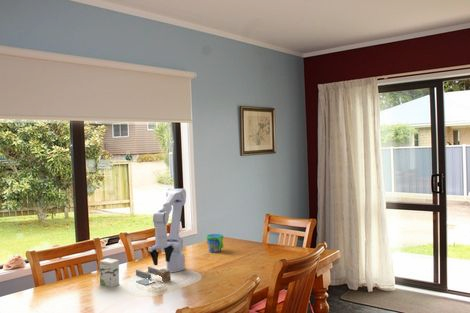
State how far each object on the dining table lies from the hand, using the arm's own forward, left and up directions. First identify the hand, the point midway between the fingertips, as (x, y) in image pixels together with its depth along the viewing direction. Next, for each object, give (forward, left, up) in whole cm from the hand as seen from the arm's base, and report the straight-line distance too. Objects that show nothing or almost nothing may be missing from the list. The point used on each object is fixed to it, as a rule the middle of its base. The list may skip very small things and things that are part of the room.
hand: (161, 263), depth 209 cm
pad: (+7, -3, -8) cm, 12 cm away
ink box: (+21, -14, -9) cm, 27 cm away
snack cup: (-56, -21, -9) cm, 60 cm away
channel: (0, -11, -8) cm, 14 cm away
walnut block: (0, +1, -8) cm, 9 cm away
